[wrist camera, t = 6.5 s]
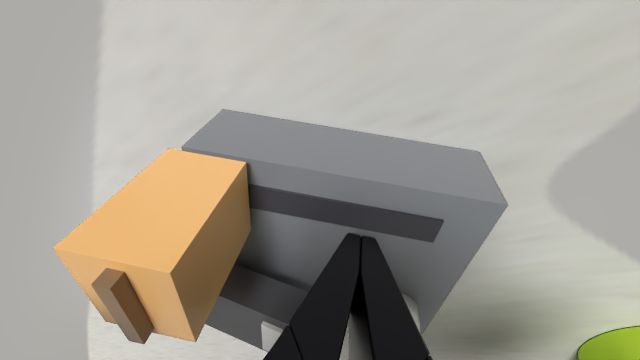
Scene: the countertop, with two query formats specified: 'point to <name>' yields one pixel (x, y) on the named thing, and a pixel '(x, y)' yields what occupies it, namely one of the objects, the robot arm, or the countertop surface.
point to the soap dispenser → (613, 346)
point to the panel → (356, 202)
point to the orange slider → (163, 245)
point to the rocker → (254, 307)
